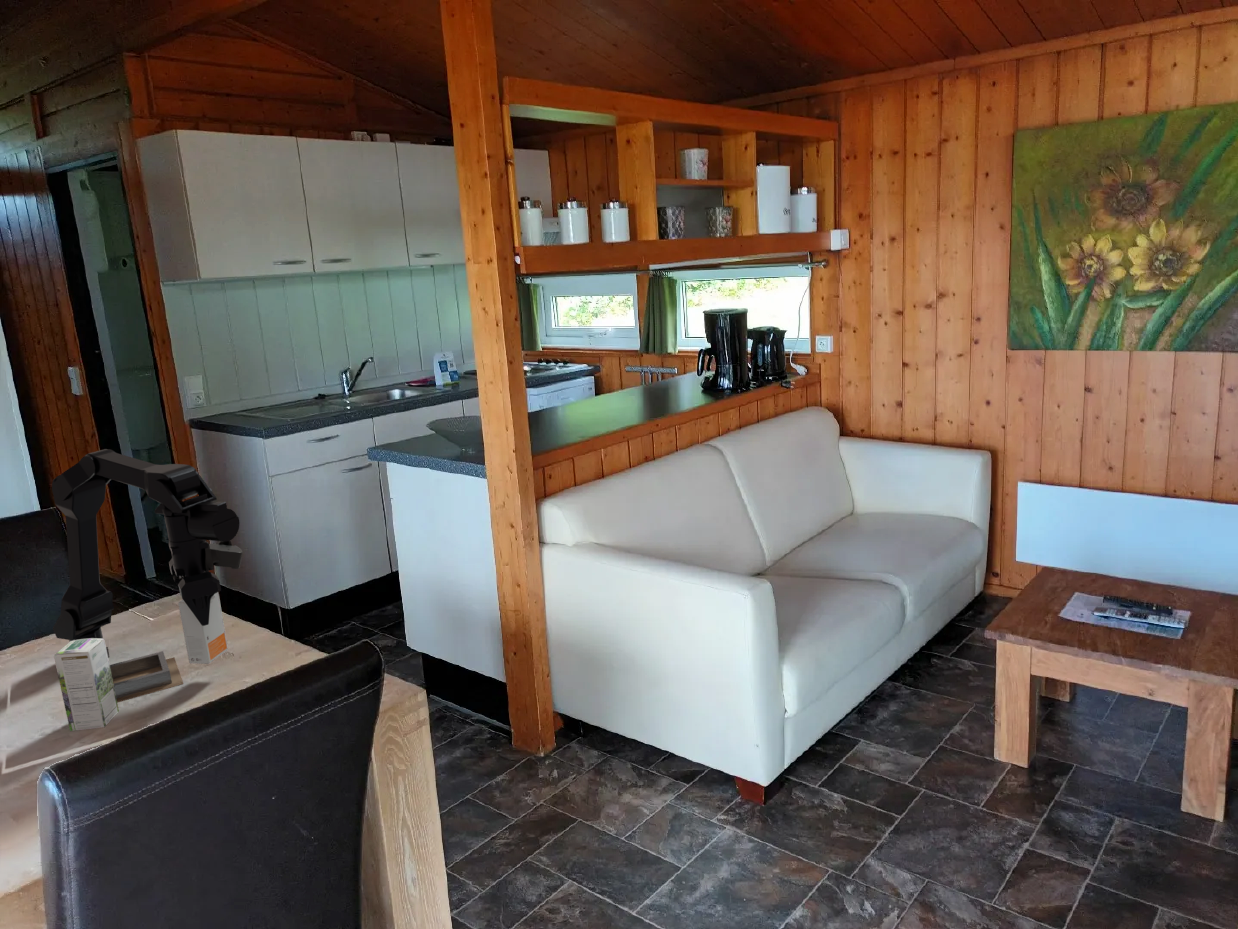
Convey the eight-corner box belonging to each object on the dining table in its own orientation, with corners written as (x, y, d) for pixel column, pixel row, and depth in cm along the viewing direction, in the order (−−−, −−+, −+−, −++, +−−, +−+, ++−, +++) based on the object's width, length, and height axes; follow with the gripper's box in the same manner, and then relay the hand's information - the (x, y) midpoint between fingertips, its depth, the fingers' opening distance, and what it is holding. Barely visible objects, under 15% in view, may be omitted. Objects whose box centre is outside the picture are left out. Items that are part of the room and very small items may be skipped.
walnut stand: (93, 681, 173) (93, 678, 173) (174, 660, 180) (174, 657, 180) (97, 711, 161) (97, 708, 161) (184, 686, 168) (183, 683, 168)
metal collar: (104, 679, 172) (101, 667, 172) (165, 663, 177) (163, 651, 177) (107, 701, 163) (104, 688, 163) (172, 683, 169) (169, 670, 168)
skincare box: (209, 664, 165) (197, 602, 162) (188, 664, 166) (176, 602, 163) (230, 649, 171) (218, 589, 168) (209, 649, 172) (198, 589, 169)
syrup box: (86, 717, 159) (68, 639, 156) (121, 713, 160) (104, 636, 156) (70, 734, 154) (51, 654, 150) (106, 730, 154) (88, 650, 151)
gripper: (244, 539, 159) (258, 623, 163) (226, 515, 175) (239, 592, 179) (174, 554, 154) (190, 640, 157) (161, 528, 169) (177, 607, 173)
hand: (202, 618), depth 167 cm, fingers closed on skincare box, 7 cm apart
